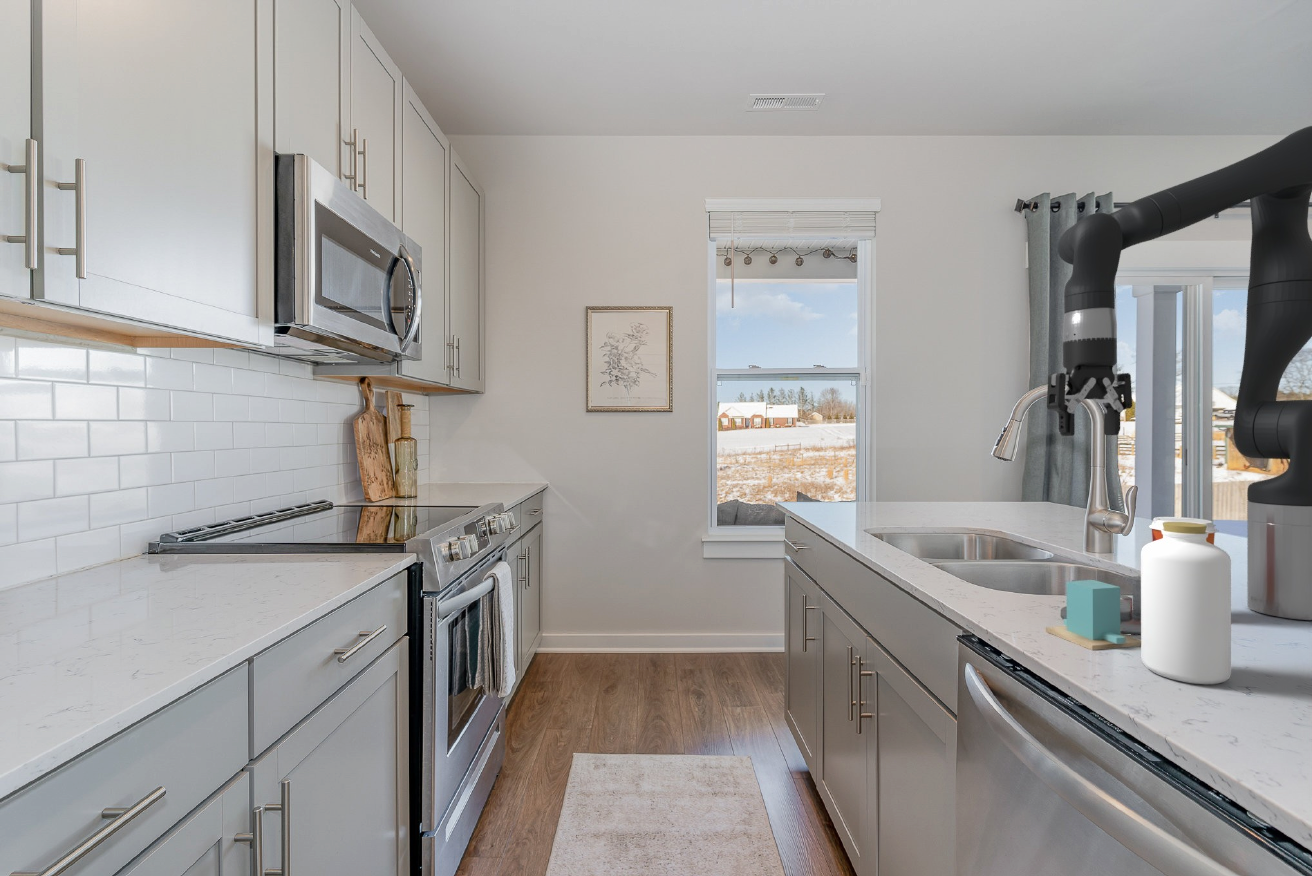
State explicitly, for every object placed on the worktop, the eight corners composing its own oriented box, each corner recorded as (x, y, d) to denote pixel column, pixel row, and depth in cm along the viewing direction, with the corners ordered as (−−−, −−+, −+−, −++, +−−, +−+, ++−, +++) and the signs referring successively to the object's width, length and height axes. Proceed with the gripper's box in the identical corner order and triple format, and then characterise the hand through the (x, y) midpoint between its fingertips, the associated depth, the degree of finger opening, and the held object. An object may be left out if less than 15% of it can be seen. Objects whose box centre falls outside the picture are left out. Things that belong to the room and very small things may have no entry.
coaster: (1093, 627, 95) (1093, 623, 95) (1143, 645, 87) (1143, 641, 87) (1045, 631, 94) (1045, 627, 94) (1092, 650, 86) (1092, 645, 86)
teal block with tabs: (1135, 643, 87) (1134, 591, 86) (1106, 645, 86) (1106, 593, 86) (1080, 623, 95) (1080, 576, 95) (1054, 625, 94) (1054, 578, 94)
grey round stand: (1110, 607, 106) (1110, 568, 105) (1189, 631, 93) (1189, 587, 93) (1040, 612, 103) (1040, 572, 103) (1111, 638, 90) (1111, 592, 90)
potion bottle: (1142, 656, 83) (1142, 517, 83) (1229, 671, 78) (1229, 522, 78) (1139, 676, 77) (1138, 525, 77) (1233, 694, 72) (1232, 531, 71)
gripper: (1070, 335, 103) (1070, 436, 104) (1146, 336, 106) (1146, 435, 106) (1034, 341, 111) (1035, 436, 111) (1106, 342, 113) (1107, 434, 113)
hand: (1089, 435), depth 108 cm, fingers open, 8 cm apart
